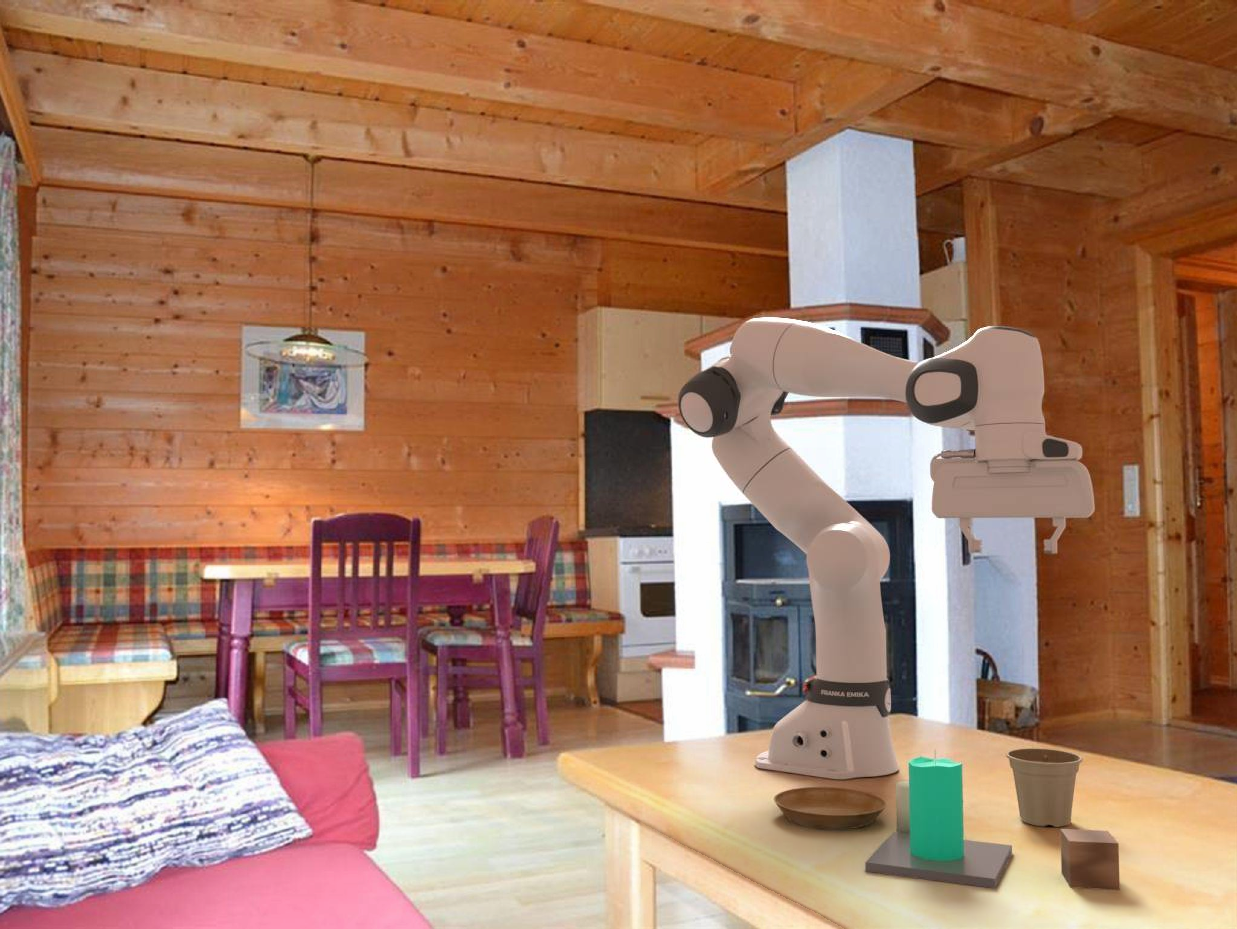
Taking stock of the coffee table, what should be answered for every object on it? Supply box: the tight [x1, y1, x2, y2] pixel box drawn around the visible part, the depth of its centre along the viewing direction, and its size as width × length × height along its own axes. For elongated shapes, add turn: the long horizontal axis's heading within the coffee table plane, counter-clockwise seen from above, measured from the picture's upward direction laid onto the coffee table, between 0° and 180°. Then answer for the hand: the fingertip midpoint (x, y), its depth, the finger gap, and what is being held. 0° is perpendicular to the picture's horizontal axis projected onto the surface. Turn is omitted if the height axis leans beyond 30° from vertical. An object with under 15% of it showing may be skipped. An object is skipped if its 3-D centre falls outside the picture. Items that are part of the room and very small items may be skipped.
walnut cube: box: [1060, 828, 1121, 891], centre depth 125 cm, size 5×5×5 cm
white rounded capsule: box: [895, 780, 910, 833], centre depth 144 cm, size 5×5×6 cm
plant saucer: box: [773, 786, 887, 830], centre depth 152 cm, size 15×15×3 cm
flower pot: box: [1005, 747, 1083, 828], centre depth 150 cm, size 9×9×9 cm
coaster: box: [864, 831, 1013, 889], centre depth 132 cm, size 14×14×1 cm
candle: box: [908, 748, 965, 861], centre depth 132 cm, size 6×6×12 cm
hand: (1012, 553), depth 150 cm, fingers open, 8 cm apart
